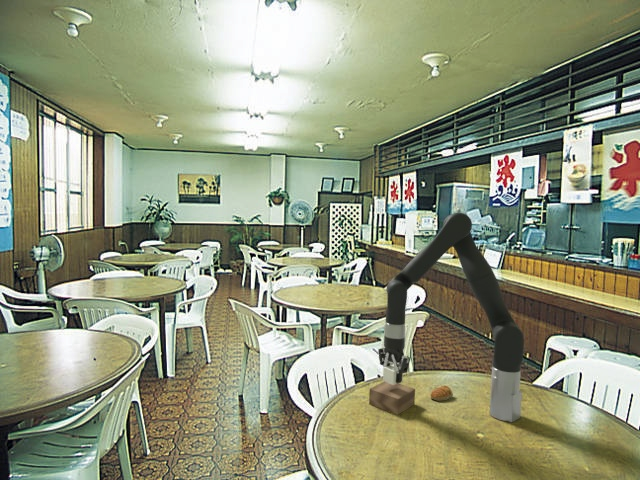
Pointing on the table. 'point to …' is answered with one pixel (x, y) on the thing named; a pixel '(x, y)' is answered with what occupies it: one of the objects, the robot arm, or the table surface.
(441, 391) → the pastry
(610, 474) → the table surface
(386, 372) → the cube
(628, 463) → the table surface
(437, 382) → the table surface
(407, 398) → the walnut box
